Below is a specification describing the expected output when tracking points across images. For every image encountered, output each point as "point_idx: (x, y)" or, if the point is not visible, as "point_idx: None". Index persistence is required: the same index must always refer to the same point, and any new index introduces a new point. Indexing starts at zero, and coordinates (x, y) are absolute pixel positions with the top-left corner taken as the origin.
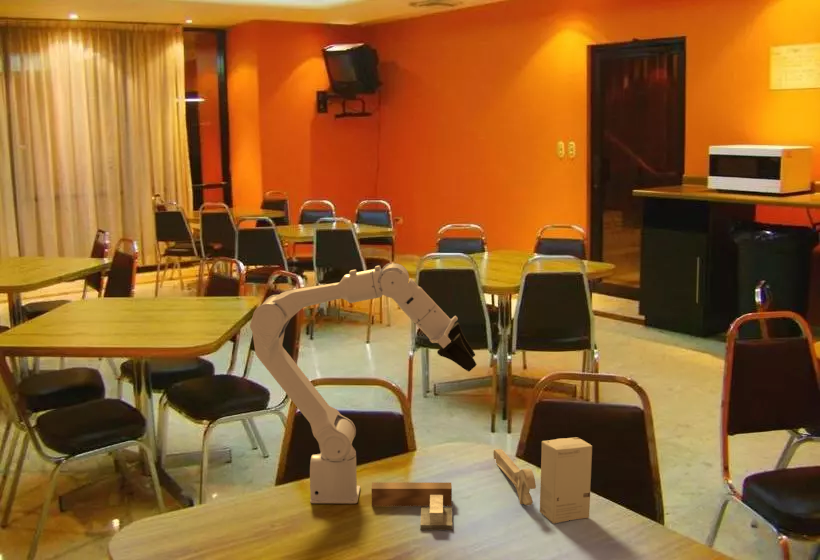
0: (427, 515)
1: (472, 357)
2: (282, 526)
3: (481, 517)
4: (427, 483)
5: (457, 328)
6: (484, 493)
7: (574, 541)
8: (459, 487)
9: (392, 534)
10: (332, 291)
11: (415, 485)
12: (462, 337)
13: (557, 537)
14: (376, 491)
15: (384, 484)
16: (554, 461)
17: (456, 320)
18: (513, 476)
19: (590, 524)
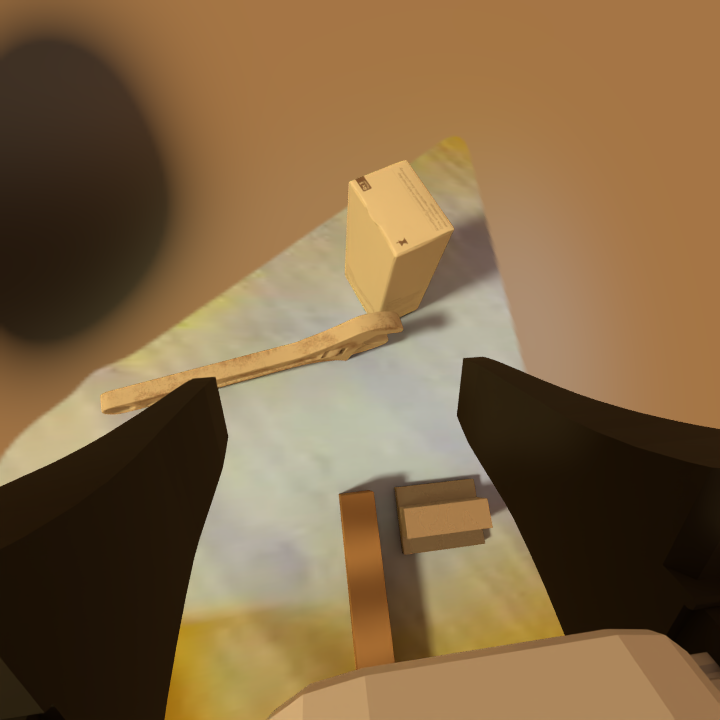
0: (441, 534)
1: (494, 371)
2: None
3: (409, 428)
4: (351, 554)
5: (39, 580)
6: (302, 427)
7: (467, 284)
8: (275, 482)
9: (509, 598)
10: None
11: (366, 583)
12: (132, 477)
13: (459, 306)
14: None
15: None
16: (443, 249)
17: (693, 660)
18: (284, 363)
19: None
